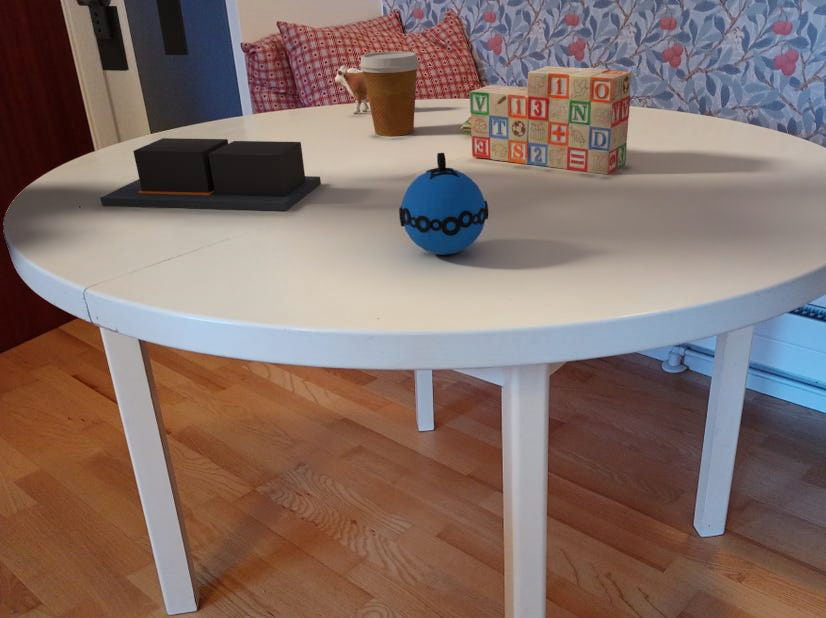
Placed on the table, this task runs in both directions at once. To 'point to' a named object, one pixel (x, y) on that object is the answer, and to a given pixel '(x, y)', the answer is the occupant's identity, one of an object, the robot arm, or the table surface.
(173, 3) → the robot arm
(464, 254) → the table surface
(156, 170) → the loose block
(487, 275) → the table surface
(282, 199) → the pad base
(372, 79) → the disposable coffee cup
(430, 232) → the ornament
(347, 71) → the bull figurine
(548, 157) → the stack of blocks
